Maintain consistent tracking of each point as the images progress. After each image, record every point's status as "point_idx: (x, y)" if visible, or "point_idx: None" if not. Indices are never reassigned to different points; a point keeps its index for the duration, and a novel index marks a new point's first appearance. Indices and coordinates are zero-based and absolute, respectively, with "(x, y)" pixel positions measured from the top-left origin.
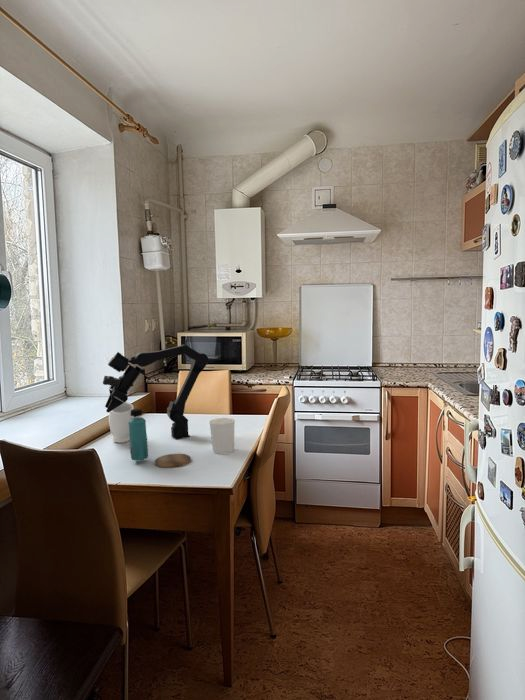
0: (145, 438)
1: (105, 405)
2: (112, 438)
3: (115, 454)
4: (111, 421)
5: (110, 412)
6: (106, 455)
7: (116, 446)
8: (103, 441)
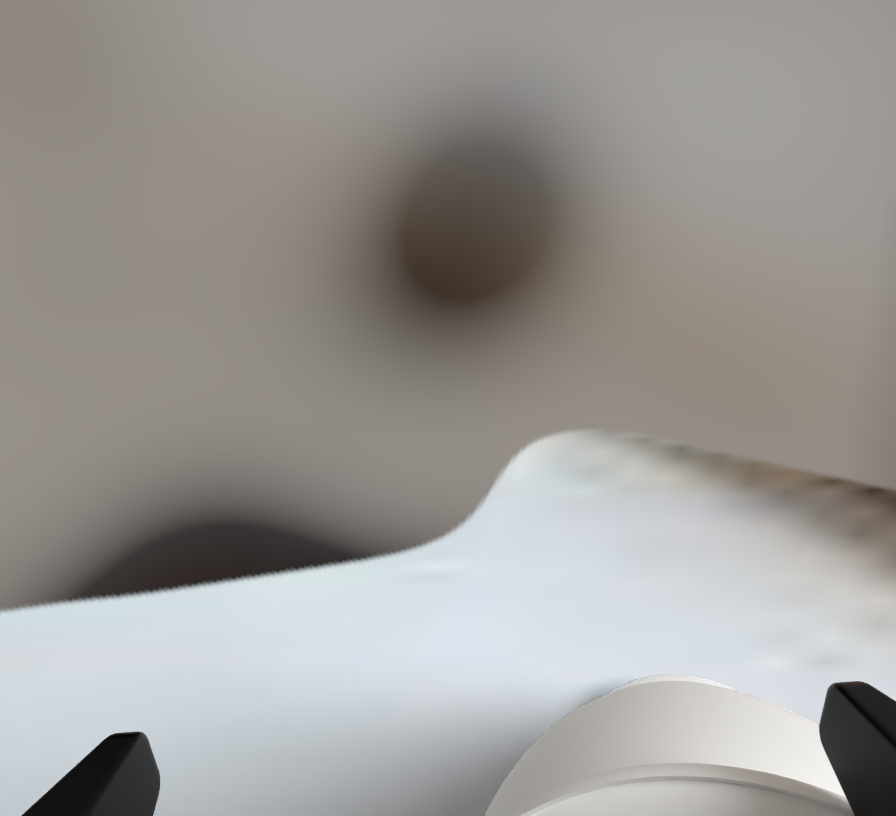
0: None
1: (868, 705)
2: (644, 682)
3: (138, 706)
4: (540, 752)
5: (515, 814)
6: (156, 610)
7: (445, 719)
8: (714, 567)
